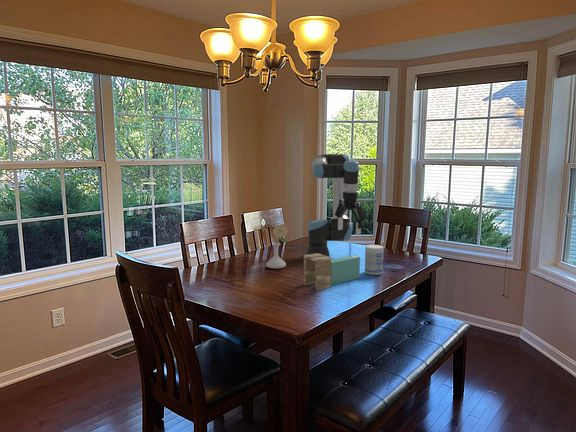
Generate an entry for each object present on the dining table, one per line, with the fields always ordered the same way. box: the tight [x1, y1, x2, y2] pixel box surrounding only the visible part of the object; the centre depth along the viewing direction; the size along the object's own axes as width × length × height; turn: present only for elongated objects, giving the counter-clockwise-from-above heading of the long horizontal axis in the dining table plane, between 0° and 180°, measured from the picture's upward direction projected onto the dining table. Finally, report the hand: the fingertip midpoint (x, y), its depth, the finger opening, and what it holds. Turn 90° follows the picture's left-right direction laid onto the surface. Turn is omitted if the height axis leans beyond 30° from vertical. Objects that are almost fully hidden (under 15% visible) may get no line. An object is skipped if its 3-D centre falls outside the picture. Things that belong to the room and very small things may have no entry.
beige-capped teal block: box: [331, 255, 361, 285], centre depth 210 cm, size 5×19×11 cm, turn 125°
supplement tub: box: [364, 244, 384, 276], centre depth 224 cm, size 10×10×15 cm
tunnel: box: [303, 253, 332, 291], centre depth 201 cm, size 11×8×15 cm
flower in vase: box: [265, 223, 289, 269], centre depth 233 cm, size 13×11×25 cm
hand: (349, 231), depth 219 cm, fingers open, 13 cm apart
